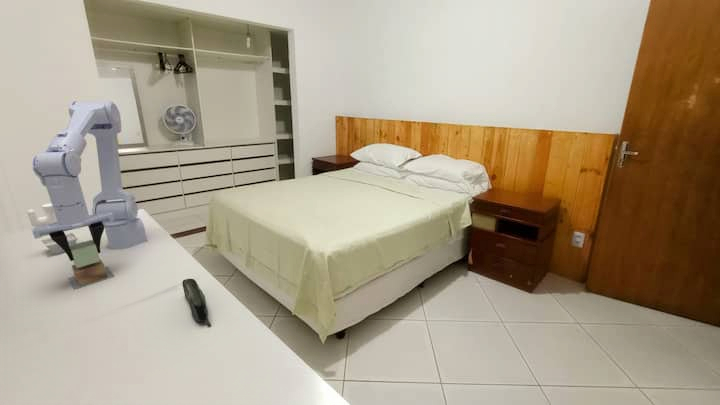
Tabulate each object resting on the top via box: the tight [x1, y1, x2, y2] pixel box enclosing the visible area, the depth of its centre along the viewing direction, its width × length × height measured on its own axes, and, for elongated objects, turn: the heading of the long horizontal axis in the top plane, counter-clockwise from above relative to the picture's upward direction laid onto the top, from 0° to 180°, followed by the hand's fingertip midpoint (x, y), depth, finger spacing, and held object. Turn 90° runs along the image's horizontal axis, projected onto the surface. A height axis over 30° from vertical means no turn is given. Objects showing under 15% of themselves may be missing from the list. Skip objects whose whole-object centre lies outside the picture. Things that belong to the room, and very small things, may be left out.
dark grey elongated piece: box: [182, 278, 212, 327], centre depth 68 cm, size 5×3×15 cm
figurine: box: [26, 202, 79, 255], centre depth 96 cm, size 7×9×15 cm
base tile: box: [67, 265, 115, 291], centre depth 80 cm, size 8×8×2 cm
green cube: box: [69, 239, 101, 268], centre depth 78 cm, size 4×4×4 cm
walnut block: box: [71, 258, 108, 286], centre depth 79 cm, size 6×6×4 cm
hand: (85, 255), depth 78 cm, fingers closed on green cube, 4 cm apart
